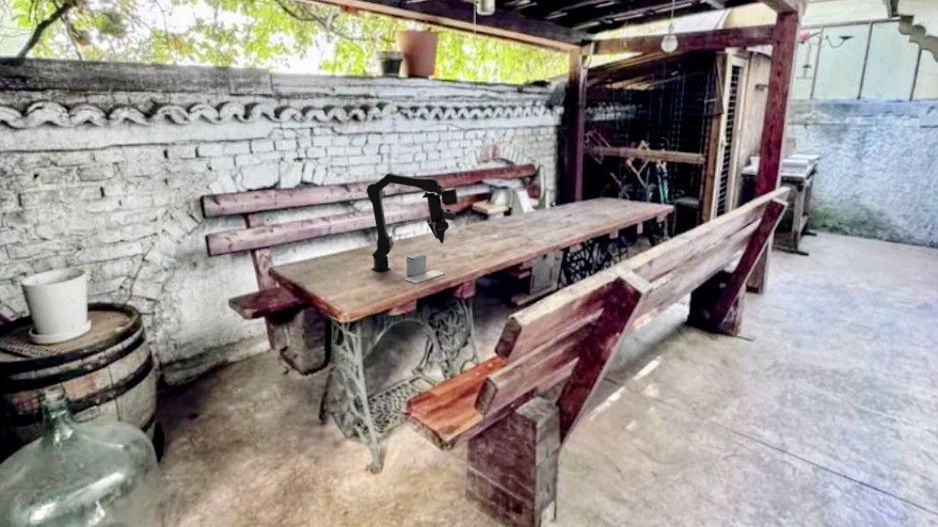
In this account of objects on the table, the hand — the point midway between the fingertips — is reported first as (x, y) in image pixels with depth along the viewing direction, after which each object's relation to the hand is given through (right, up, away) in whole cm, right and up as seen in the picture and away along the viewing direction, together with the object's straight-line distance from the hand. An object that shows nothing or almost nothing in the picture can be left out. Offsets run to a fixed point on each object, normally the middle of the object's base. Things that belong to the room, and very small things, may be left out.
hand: (439, 240), depth 228 cm
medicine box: (-11, -15, +1) cm, 18 cm away
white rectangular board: (-6, -16, -3) cm, 18 cm away
